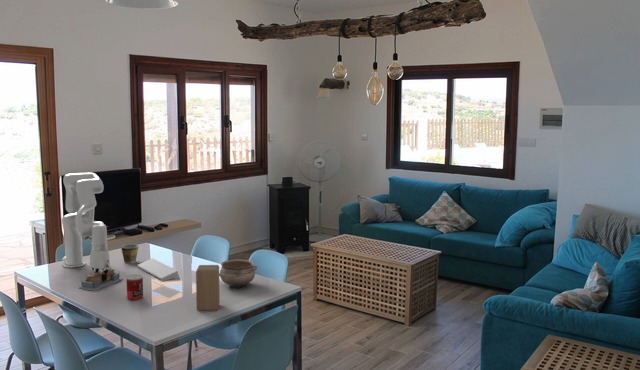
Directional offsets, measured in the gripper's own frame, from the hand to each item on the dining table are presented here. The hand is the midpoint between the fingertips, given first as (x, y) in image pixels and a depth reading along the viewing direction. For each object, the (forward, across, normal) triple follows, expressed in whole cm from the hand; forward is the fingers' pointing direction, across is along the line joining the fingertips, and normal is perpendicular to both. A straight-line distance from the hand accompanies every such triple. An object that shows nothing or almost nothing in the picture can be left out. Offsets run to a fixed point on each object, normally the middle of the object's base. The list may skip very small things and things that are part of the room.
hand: (100, 279), depth 303 cm
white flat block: (+3, +14, +30) cm, 33 cm away
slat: (+1, 0, 0) cm, 1 cm away
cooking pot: (+2, +68, +28) cm, 74 cm away
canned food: (+2, +32, -11) cm, 34 cm away
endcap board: (+2, 0, 0) cm, 2 cm away
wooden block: (+2, +73, -8) cm, 74 cm away
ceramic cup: (+3, -17, +42) cm, 45 cm away
